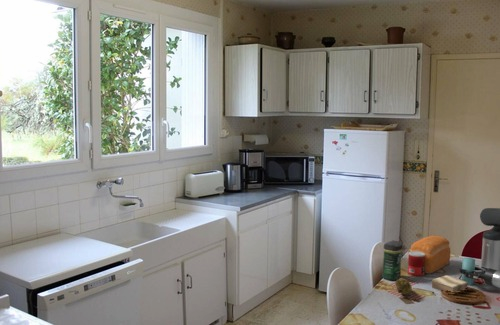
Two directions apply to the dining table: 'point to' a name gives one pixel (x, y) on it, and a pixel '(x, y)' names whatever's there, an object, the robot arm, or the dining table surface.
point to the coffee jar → (392, 260)
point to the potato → (403, 286)
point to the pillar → (468, 265)
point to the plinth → (448, 284)
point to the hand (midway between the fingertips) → (465, 269)
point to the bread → (433, 252)
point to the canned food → (416, 263)
